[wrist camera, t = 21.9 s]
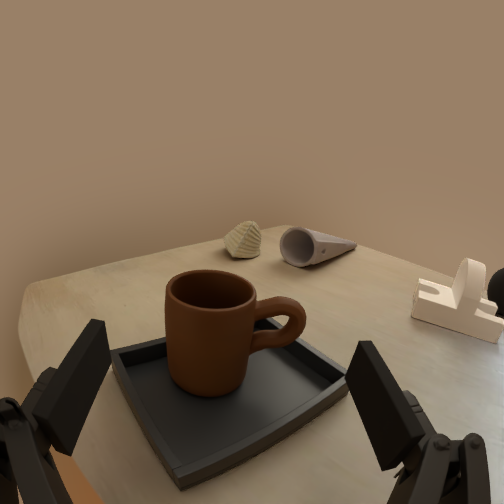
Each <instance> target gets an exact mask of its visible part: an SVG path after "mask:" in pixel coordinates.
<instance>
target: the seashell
mask: <svg viewBox="0 0 504 504" xmlns="http://www.w3.org/2000/svg"><path fill="white" fill-rule="evenodd" d="M224 243H225V246H226V248H227V250H228V252H229V253H230V254H231V256H232V257H237V258H253V257H256V256H258V255H259V253H260V244H261V232H260V229H259V227H258V226H257V224H256V222H253V221H246V222H243V223H241V224H239V225H238V226H237V227H235V228H234V229H233V230H232V231H231V232H229V233H228V234H226V235H225V237H224Z"/></svg>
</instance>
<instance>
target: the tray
mask: <svg viewBox="0 0 504 504" xmlns="http://www.w3.org/2000/svg"><path fill="white" fill-rule="evenodd" d="M283 327H284V326H282V325H281V324H280V323H278V322H277V321H275V320H274V319H273V318H271V317H270V318H266V319H261V320H258V321H255V322H254V328H253V332H256V331H260V330H278V329H281V328H283ZM110 354H111V358H112V363H111V364H112V368H113V371H114V373H115V376H116V378H117V380H118V382H119V385H120V387H121V389H122V391H123V393H124V395H125V397H126V400H127V402H128V404H129V406H130V408H131V410H132V412H133V414H134V415H135V417H136V419H137V421H138V423H139V425H140V427H141V429H142V430H143V432H144V434H145V436H146V438H147V439H148V441H149V443H150V444H151V446H152V448H153V450H154V451H155V453H156V454H157V456H158V458H159V459H160V461H161V462H162V464H163V466H164V467H165V469H166V470H167V472H168V473H169V475H170V476H171V478H172V479H173V481H174V482H175V484H176V485H177V486H178V488H179V489H180V491H183V490H185V489H188V488H190V487H192V486H195V485H197V484H199V483H202V482H204V481H206V480H208V479H211V478H213V477H215V476H217V475H219V474H221V473H223V472H225V471H227V470H229V469H231V468H233V467H235V466H237V465H239V464H241V463H243V462H245V461H246V460H248V459H250V458H252V457H254V456H256V455H257V454H259V453H261V452H263V451H264V450H266V449H268V448H269V447H271V446H273V445H274V444H276V443H278V442H279V441H281V440H282V439H284V438H286V437H287V436H289V435H290V434H292V433H293V432H295V431H296V430H298V429H300V428H301V427H302V426H304V425H305V424H307V423H308V422H310V421H311V420H313V419H314V418H315V417H317V416H318V415H320V414H321V413H322V412H324V411H325V410H327V409H328V408H329V407H331V406H332V405H333V404H335V403H336V402H337V401H338V400H340V399H341V398H342V397H344V396H345V395H346V394H347V393H348V391H349V388H348V386H347V383H346V381H345V379H344V377H345V375H346V372H347V370H346V369H345V368H343V367H342V366H340V365H339V364H337V363H336V362H334V361H333V360H332V359H330V358H329V357H327V356H326V355H324V354H323V353H321V352H320V351H318V350H317V349H315V348H314V347H312V346H311V345H310V344H308V343H307V342H305V341H304V340H302V339H301V338H299V337H298V338H297V339H296V340H295V341H294V342H292V343H290V344H289V345H286V346H284V347H280V348H266V349H263V350H261V351H257V352H255V353H253V354H251V355H250V356H249V360H248V366H247V372H246V375H245V378H244V380H243V382H242V383H241V385H240V386H239V387H237V388H236V389H235V390H233V391H232V392H230V393H228V394H225V395H222V396H217V397H202V396H197V395H194V394H191V393H189V392H187V391H185V390H183V389H182V388H180V387H179V386H178V385H177V384H176V383H175V382H174V380H173V379H172V377H171V375H170V372H169V368H168V358H167V346H166V337H163V338H159V339H155V340H151V341H147V342H143V343H139V344H135V345H131V346H127V347H122V348H118V349H114V350H110Z"/></svg>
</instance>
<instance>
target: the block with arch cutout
mask: <svg viewBox="0 0 504 504" xmlns="http://www.w3.org/2000/svg"><path fill="white" fill-rule="evenodd" d="M485 278H486V268H485V265H484V264H483V263H480V262H477V261H474V260H471V259H468V258H464V259H463V261H462V262H461V264H460V266H459V269H458V271H457V274H456V276H455V279H454V282H453V285H452V288H449V287H446V286H443V285H440V284H437V283H433V282H430V281H427V280H424V279H421V278H419V280H418V283H417V286H416V289H415V292H414V295H413V301H415V303H414V305H413V308H412V316H411V317H413V318H416V319H419V320H423V321H426V322H429V323H432V324H435V325H438V326H441V327H445V328H448V329H451V330H454V331H457V332H460V333H464V334H466V335H469V336H472V337H475V338H479V339H482V340H485V341H488V342H492V343H497V341H498V339H499V337H500V335H501V333H502V331H503V329H504V319H502V318H499V317H496V316H495V314H496V311H497V309H498V307H497V305H496V303H494V302H492V301H489V300H486V299H483V298H481V297H482V294H483V290H484V286H485Z"/></svg>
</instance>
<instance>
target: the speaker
mask: <svg viewBox="0 0 504 504" xmlns="http://www.w3.org/2000/svg"><path fill="white" fill-rule="evenodd" d="M487 295H488V300H489V301H492V302H494V303H496V305H497V307H498V309H497V311H496V312H498V313H500V314H504V268H503V269H500V270H498V271H497V272H496V273H495V274H494V275H493V276H492V278H491V280H490V282H489V285H488V290H487Z"/></svg>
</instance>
